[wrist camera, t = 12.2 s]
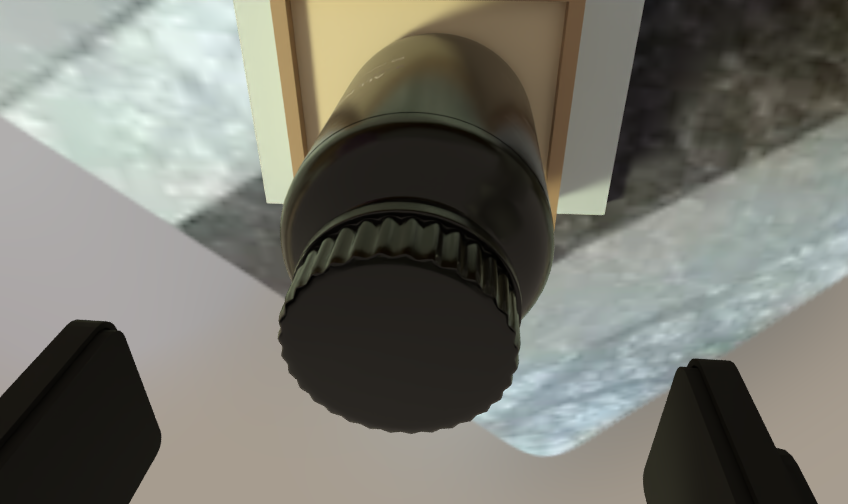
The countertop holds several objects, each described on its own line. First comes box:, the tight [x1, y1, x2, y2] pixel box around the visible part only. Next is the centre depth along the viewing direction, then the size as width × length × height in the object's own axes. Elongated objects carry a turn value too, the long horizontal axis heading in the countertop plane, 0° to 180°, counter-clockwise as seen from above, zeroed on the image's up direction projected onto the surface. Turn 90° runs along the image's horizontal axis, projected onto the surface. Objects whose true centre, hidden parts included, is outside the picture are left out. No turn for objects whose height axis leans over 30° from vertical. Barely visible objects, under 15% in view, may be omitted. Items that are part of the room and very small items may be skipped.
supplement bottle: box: [278, 33, 555, 434], centre depth 16 cm, size 7×7×12 cm
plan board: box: [233, 0, 645, 228], centre depth 23 cm, size 16×11×6 cm
